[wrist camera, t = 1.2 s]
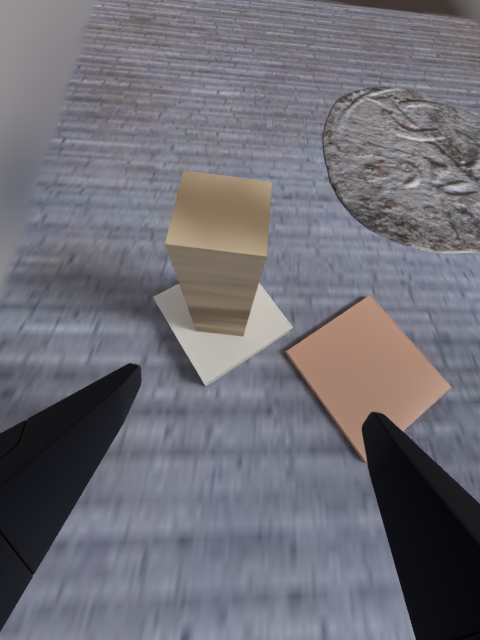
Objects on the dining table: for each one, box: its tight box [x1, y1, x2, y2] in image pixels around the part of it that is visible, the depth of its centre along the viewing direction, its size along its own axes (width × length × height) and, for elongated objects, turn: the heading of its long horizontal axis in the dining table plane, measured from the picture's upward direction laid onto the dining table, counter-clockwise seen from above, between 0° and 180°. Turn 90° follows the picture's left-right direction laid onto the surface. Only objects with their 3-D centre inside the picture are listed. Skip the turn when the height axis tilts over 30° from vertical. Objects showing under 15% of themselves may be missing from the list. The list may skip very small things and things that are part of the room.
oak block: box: [165, 170, 272, 337], centre depth 17 cm, size 4×4×13 cm
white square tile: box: [153, 283, 293, 386], centre depth 24 cm, size 10×10×2 cm
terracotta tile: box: [285, 295, 451, 464], centre depth 24 cm, size 12×12×1 cm
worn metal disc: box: [323, 87, 480, 254], centre depth 37 cm, size 33×35×1 cm
